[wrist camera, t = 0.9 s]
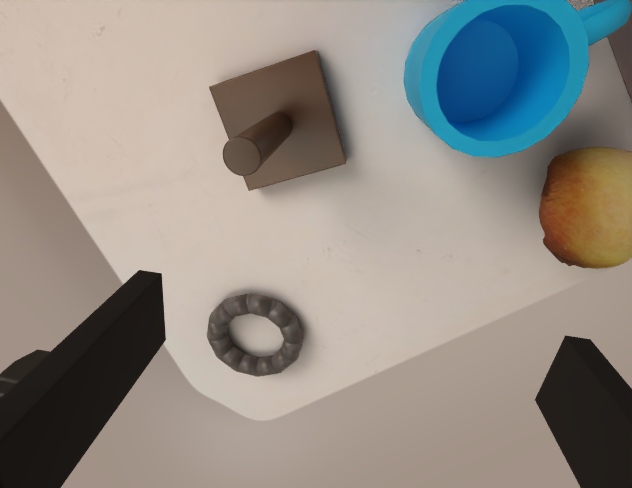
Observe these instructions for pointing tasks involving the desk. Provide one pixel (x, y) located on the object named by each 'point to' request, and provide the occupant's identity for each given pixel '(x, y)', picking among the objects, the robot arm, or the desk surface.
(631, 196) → the fruit
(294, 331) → the ring
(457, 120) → the mug
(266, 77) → the stand
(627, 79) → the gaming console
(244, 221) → the desk surface
